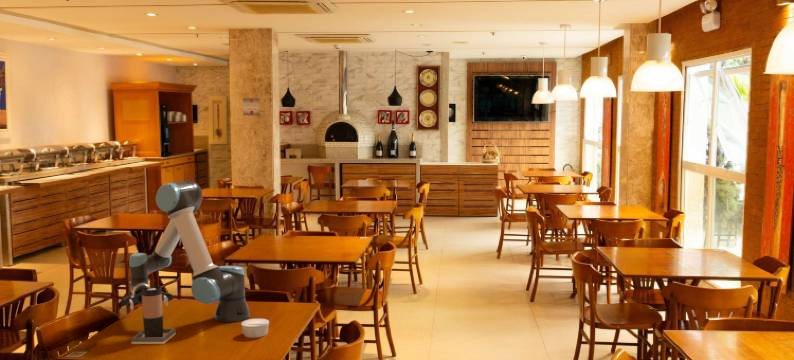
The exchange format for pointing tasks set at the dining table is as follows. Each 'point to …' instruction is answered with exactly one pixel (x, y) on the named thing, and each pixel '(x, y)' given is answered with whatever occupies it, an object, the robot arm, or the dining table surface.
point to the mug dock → (142, 339)
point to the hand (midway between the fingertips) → (149, 304)
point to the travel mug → (152, 311)
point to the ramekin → (255, 327)
